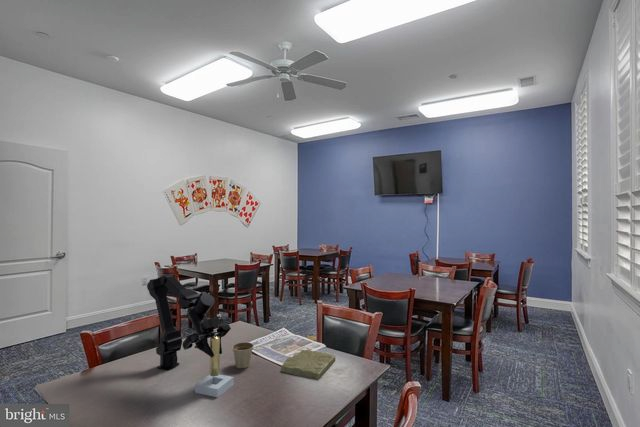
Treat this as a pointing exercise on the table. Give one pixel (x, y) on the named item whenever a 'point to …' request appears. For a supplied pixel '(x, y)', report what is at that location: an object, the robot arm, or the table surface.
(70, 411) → the table surface
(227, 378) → the socket block
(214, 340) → the pin
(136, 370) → the table surface
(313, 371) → the decorative tile
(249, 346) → the flower pot
